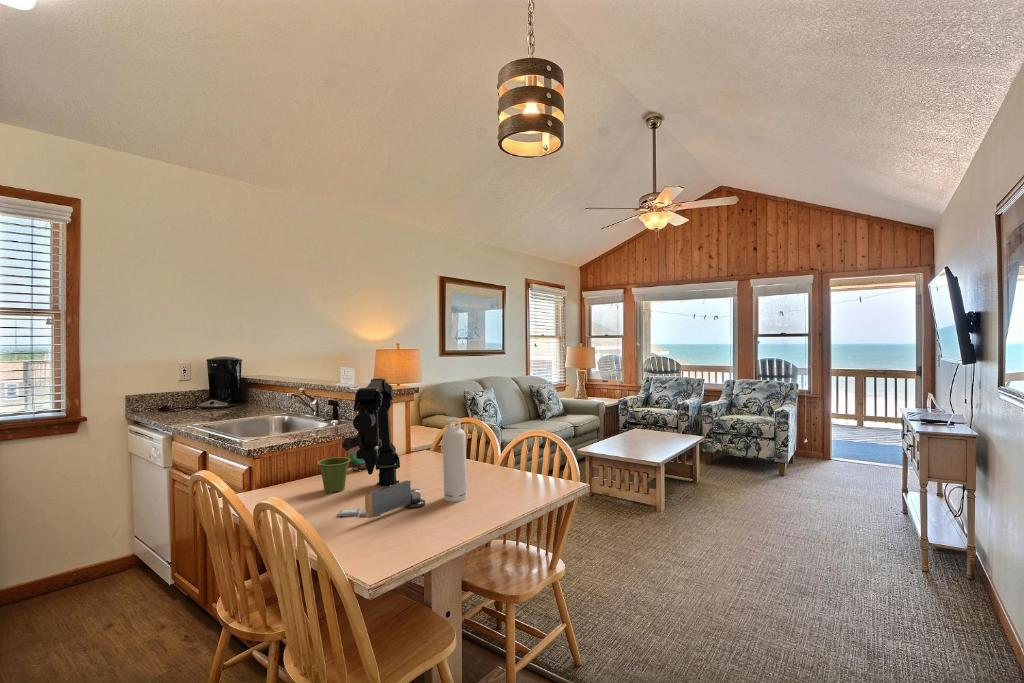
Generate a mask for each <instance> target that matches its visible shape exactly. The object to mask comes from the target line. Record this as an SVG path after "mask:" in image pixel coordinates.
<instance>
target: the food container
mask: <svg viewBox="0 0 1024 683" xmlns="http://www.w3.org/2000/svg"><path fill="white" fill-rule="evenodd" d="M358 450H359V448H357V447H356V448H352V449H349V450H348V455H349V459H350V469H351V471H352V470H353V471H352V472H360V471H359V470H365V471H367V470H366V469H367V467H366V464H365V460H364V459H356V452H357V451H358Z"/></svg>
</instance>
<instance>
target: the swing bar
mask: <svg viewBox="0 0 1024 683" xmlns="http://www.w3.org/2000/svg"><path fill="white" fill-rule="evenodd" d="M421 497H422V496H421V489H419V488H411V480H407V479H406V480H404V481H399V482H398V483H396V484H393V485H391V486H384V487H382V488H378V489H375V490H372V491H369V492H366V493H364V504H365V505H364V506H365V508H364V510H365V516H366V517H365V518H367V519H372V518H374V517H376V516H377V515H378V516H381V515H382V514H384V513H388V512H391V511H393V510H395V509H399V508H402V507H405V505H407V504H410V503H418V502H420V501H421V499H422V498H421Z"/></svg>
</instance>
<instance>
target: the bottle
mask: <svg viewBox="0 0 1024 683" xmlns="http://www.w3.org/2000/svg"><path fill="white" fill-rule="evenodd" d="M461 422H462V421H461V418H457V417H456V418H454V417H453V418H447V419H446V429H445V430H444V431H443V433H442V460H443V461H442V463H443V464H442V465H443V468H442V469H443V470H442V471H443V493H444V494H443V500H445V501H446V502H454V503H456V502H462V501H463V502H464V500H466V499H467V498H468V492H467V490H468V484H467V483H468V482H467V449H466V448H467V445H466V444H467V443H466V439H467V438H466V436H467V435H466V432H465V430H464V429H462V426H461ZM451 423H452V425H451ZM456 423H457V425H456Z"/></svg>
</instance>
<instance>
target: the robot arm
mask: <svg viewBox="0 0 1024 683" xmlns="http://www.w3.org/2000/svg"><path fill="white" fill-rule="evenodd" d="M394 397H395V396H394V390H393V386H392V385H391V384H390V383H388V382H387V381H386V379H385V378H384V377H381V378H380V377H379V378H372V379H370V382H369V383H368V385H367V386H366V387H360V388H358V389H357V391H356V393H355V397H354V404H353V412H356V411H357V412H358V414H357V415H355V417H354V418H353V420H352V425H353V428H354V429H355V430H356V431H357V433H358V434H356V435H353V436H348V437H345V438H344V440H342V441H341V445H342V446H341V447H342V448H343V449H344V452H349V449H355V448H357V447H358V448H359V450H358V451H357V452H356V459H364V460H365V464H366V467H367V470H366V471H367V474H368V475H373V472H374V469H375V470H376V471H378V470H379V471H378V472H379V473H378V482H376V485H377V484H379V486H383V485H385V486H384V487H387V486H390V485H394V484H397V483H400V480H397V469H398V470H399V469H400V468H401V459H400V456H399V454H398V453H397V449H396V446H395V445H394V444H393V442H392V439H391V438H392V437H391V436H392V435H391V424H390V407H392V403H393V400H394ZM377 447H378V448H377Z"/></svg>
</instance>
